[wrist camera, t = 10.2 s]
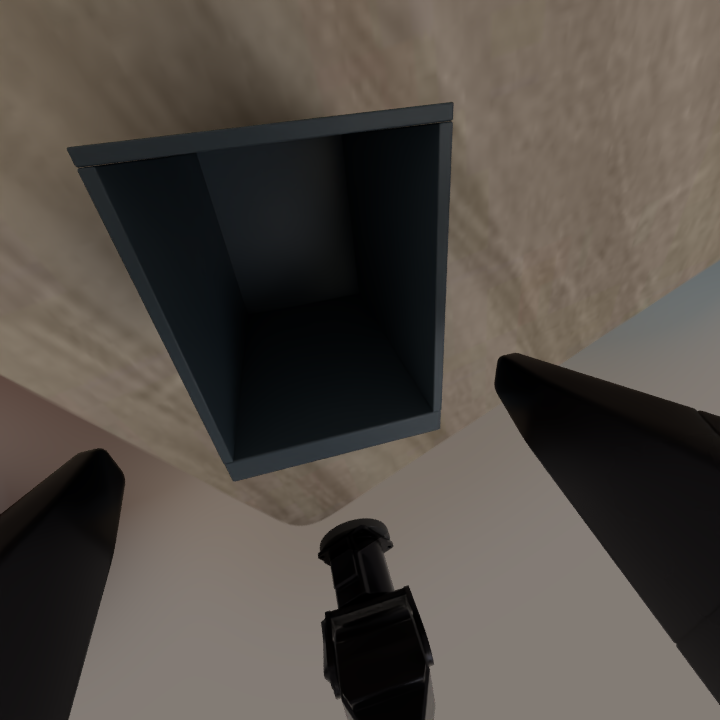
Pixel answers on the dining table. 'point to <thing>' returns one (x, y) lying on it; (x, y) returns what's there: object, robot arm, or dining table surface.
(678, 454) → the robot arm
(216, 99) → the dining table surface
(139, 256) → the bin
